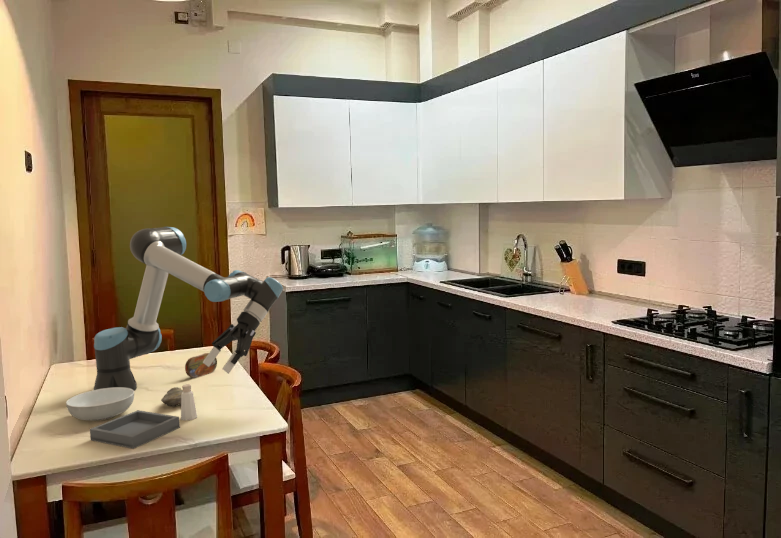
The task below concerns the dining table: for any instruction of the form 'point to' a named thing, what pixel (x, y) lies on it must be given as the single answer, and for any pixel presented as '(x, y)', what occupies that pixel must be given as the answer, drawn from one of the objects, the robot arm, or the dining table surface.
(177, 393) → the fossilized seashell
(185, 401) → the salt shaker
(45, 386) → the dining table surface
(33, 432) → the dining table surface
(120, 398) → the serving bowl
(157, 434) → the parts tray
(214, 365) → the tin
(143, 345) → the robot arm
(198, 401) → the dining table surface
